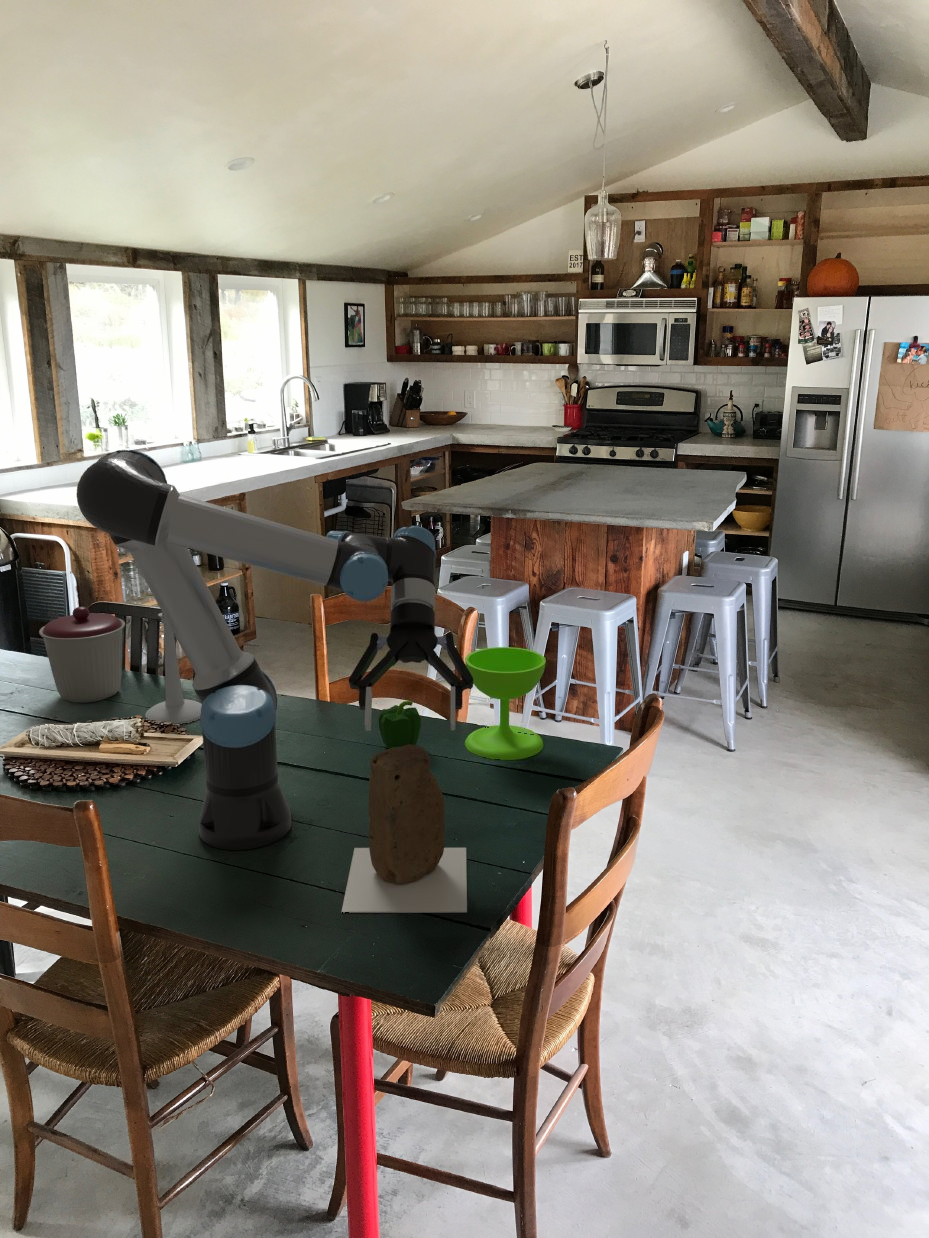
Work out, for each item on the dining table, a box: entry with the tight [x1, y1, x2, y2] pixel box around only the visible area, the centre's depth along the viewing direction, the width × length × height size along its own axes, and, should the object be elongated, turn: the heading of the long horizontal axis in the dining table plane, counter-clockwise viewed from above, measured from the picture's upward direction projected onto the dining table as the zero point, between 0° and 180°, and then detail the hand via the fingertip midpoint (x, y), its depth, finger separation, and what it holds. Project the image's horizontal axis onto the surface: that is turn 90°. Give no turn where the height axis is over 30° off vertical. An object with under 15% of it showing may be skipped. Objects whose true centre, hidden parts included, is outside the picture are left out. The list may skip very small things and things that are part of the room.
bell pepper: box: [378, 700, 422, 749], centre depth 194 cm, size 8×8×10 cm
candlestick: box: [144, 611, 202, 724], centre depth 208 cm, size 13×13×30 cm
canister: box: [38, 606, 126, 704], centre depth 221 cm, size 18×18×21 cm
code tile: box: [341, 847, 468, 914], centre depth 148 cm, size 18×18×1 cm
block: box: [368, 744, 446, 884], centre depth 147 cm, size 11×8×20 cm
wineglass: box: [464, 646, 547, 761], centre depth 195 cm, size 16×16×18 cm
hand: (410, 727), depth 155 cm, fingers open, 13 cm apart
